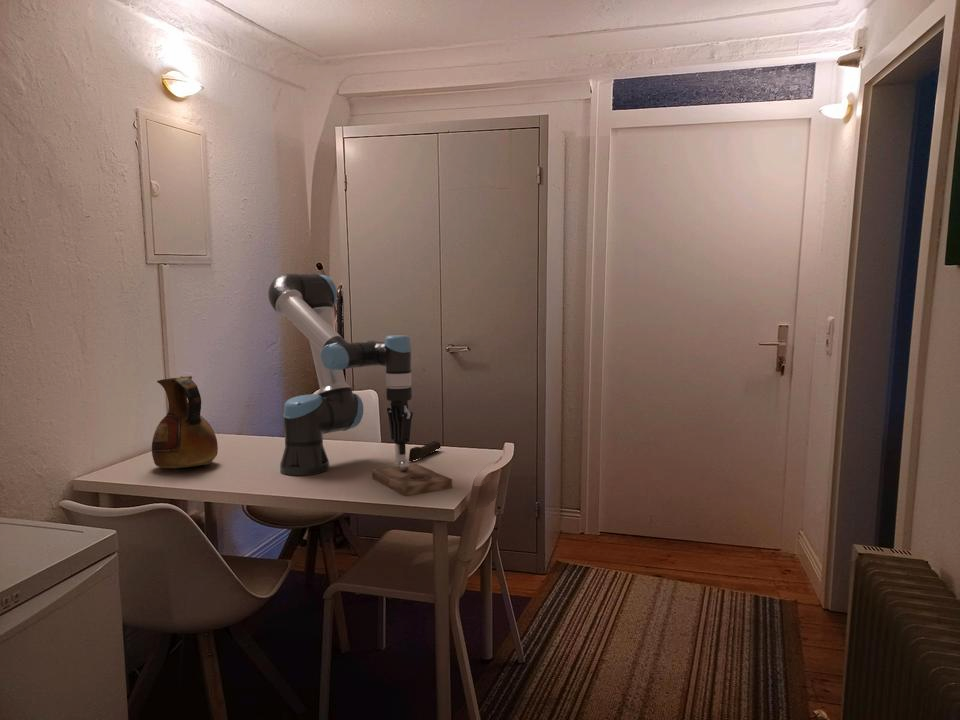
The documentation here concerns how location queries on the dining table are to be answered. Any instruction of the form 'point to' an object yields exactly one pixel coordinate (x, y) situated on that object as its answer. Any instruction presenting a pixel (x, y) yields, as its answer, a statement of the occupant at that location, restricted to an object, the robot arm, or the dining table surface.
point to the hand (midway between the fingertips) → (400, 464)
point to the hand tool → (423, 450)
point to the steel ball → (403, 466)
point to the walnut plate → (412, 479)
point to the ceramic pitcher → (183, 428)
